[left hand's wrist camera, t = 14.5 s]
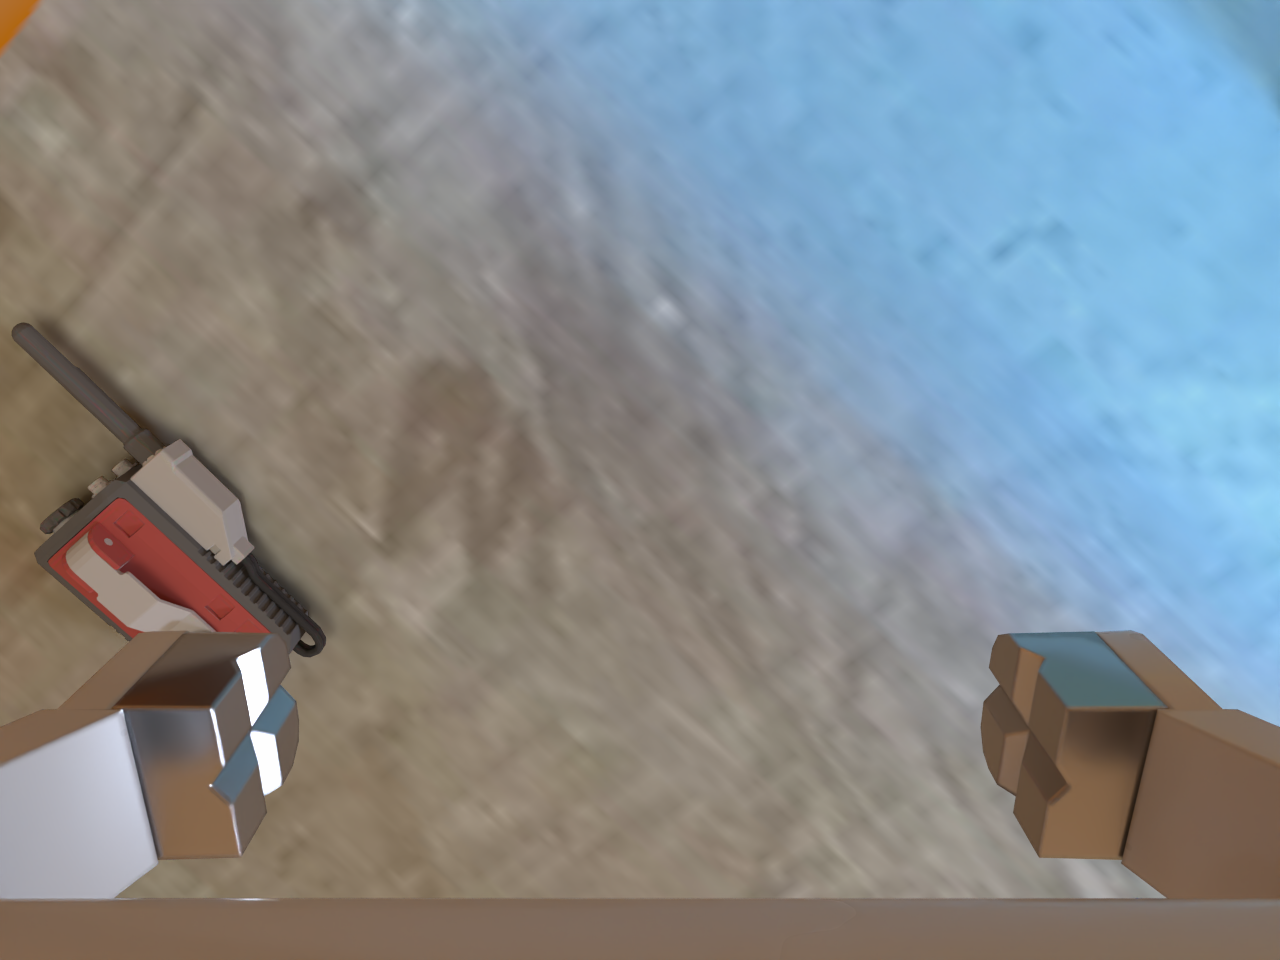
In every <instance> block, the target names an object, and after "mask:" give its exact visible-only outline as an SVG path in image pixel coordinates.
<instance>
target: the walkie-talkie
mask: <svg viewBox="0 0 1280 960" xmlns="http://www.w3.org/2000/svg"><path fill="white" fill-rule="evenodd" d="M12 337H13V339H14V341H15V342H16V343H18V344H19V345H20V346H21V347H22V348H23V349H24V350H25V351H26V352H27V353H28V354H29V355H30V356H31V357H32V358H33V359H34V360H36V361H37V362H38V363H39V364H40V365H41V366H42V367H43V368H44V369H45V370H46V371H47V372H48V373H49V374H50V375H51V376H52V377H54V378H55V379H56V380H57V381H58V382H59V383H60V384H61V385H62V386H63V387H64V388H65V389H66V390H67V391H68V392H69V393H70V394H72V395H73V396H74V397H75V398H76V399H77V400H78V401H79V402H80V403H81V404H82V405H83V406H84V407H85V408H86V409H87V410H88V411H89V412H91V413H92V414H93V415H94V416H95V417H96V418H97V419H98V420H99V421H100V422H101V423H102V424H103V425H104V426H105V427H106V428H107V429H109V430H110V431H111V432H112V433H113V434H114V435H115V436H116V437H117V438H118V439H119V440H120V441H121V442H122V443H123V444H124V449H125V450H126V451H128V452H129V453H130V454H131V455H132V456H133V457H134V458H135V459H136V460H137V461H138V462H139V463H140V464H139V465H137V464H136V463H134V464H131V463H130V462H129V461H128V460H127V459H124V460H123V461H121V462H120V463H119V464H117V465H116V466H115V467H114V468H113V469H112V471H113V472H114V473H115V474H116V475H117V478H116V479H115V480H111V481H110V482H109V481H107V480H106V479H105V478H104V477H103V476H101V477H100V478H98V479H97V480H95V481H94V482H93V483H92V484H91V485H89V486H88V489H89V490H90V491H91V492H92V493H93V495H92V498H93V499H92V500H90V501H89V502H88V503H87V504H86V505H85V506H84V503H83V502H82V501H81V500H80V499H79V498H74V499H72V500H70V501H68V502H67V503H65V504H64V505H62V506H61V507H60V508H59V509H57V510H56V511H55V512H53V513H52V514H51V515H50V516H48V517H47V518H46V519H45V520H44V521H43V522H42V523H41V525H40V530H42V531H43V532H44V533H45V534H50V533H53V532H54V534H53V535H52V536H51V537H50V538H49V539H48V540H47V541H46V542H45V543H43V544H42V545H41V546H40V547H39V548H38V549H37V550H36V552H35V553H34V554H35V557H36V560H37V563H38V564H39V565H41V566H42V567H43V568H44V569H45V570H46V571H47V572H49V573H50V574H51V575H52V576H53V577H54V578H56V579H57V580H58V581H59V582H60V583H61V584H62V585H64V586H65V587H66V588H67V589H68V590H69V591H70V592H72V593H73V594H74V595H75V596H76V597H77V598H79V599H80V600H81V601H82V602H83V603H84V604H85V605H87V606H88V607H89V608H90V609H91V610H92V611H94V612H95V613H96V614H97V615H98V616H99V617H100V618H102V619H103V620H104V621H105V622H106V623H107V624H109V625H110V626H112V627H114V628H115V629H116V631H117V632H118V633H121V634H122V635H123V636H124V637H125V639H126V640H127V641H131V640H132V639H133V638H134V637H135V636H136V635H137V634H138V633H143V632H152V631H189V632H247V633H279V635H280V636H281V637H282V638H283V639H284V640H285V641H286V644H287V649H288V655H289V654H290V653H291V651H292V650H294V651H295V652H296V653H297V654H299V655H301V656H303V657H312V656H315V655H317V654H319V653H320V652H321V651H322V649H323V648H324V646H325V644H326V637H325V635H324V633H323V631H322V630H321V628H320V627H319V626H318V625H317V624H316V623H315V622H314V621H313V620H312V619H311V618H310V617H309V616H308V611H307V610H305V609H304V608H303V607H302V606H301V604H300V603H297V602H296V601H295V600H294V599H293V597H292V596H290V595H289V594H288V593H287V592H286V590H285V589H284V588H282V587H280V586H279V585H278V583H277V582H276V581H274V580H273V579H272V578H271V577H270V575H269V574H268V573H266V572H265V571H264V570H262V568H261V567H260V566H258V563H257V560H256V559H255V558H254V556H253V555H252V554H251V553H250V552H251V551H252V550H253V549H254V548H255V547H254V546H253V545H252V544H251V543H250V542H249V541H248V538H247V533H246V528H245V523H244V518H243V513H242V509H241V504H240V501H239V499H238V498H237V497H236V496H235V495H234V494H233V493H232V492H231V491H229V490H228V489H227V488H226V487H225V486H224V485H223V484H222V483H221V482H220V481H219V480H218V479H217V478H216V477H215V476H214V475H213V474H212V473H211V472H210V471H209V470H208V469H207V468H206V467H205V466H204V465H203V464H202V463H201V462H200V461H199V460H197V459H196V458H195V457H194V456H193V454H192V450H191V449H190V448H189V447H188V446H187V445H186V444H185V443H184V442H183V441H182V440H181V439H179V440H177V441H176V442H174V443H172V444H171V445H169V446H167V447H166V446H164V445H163V444H162V443H161V442H160V441H159V440H158V439H157V438H156V437H155V436H154V435H153V434H152V433H151V432H150V431H149V430H148V429H141V428H140V427H139V426H138V425H137V424H136V423H135V422H134V421H133V420H132V419H131V418H130V417H129V416H128V415H127V414H126V413H125V412H124V411H123V410H122V409H121V408H120V407H119V406H118V405H117V404H116V403H115V402H114V401H112V400H111V399H110V398H109V397H108V396H107V395H106V394H105V393H104V392H103V391H102V390H101V389H100V388H99V387H98V386H97V385H96V384H95V383H94V382H93V381H92V380H91V379H90V378H89V377H88V376H87V375H86V374H85V373H83V372H82V371H81V370H80V369H79V368H77V367H75V366H74V365H73V364H72V363H71V362H70V361H68V360H67V359H66V358H65V357H64V356H63V355H62V354H61V353H60V352H59V351H58V350H57V349H56V348H55V347H54V346H53V345H52V344H50V343H49V342H48V341H47V340H46V339H45V338H44V337H43V336H42V335H41V334H40V333H39V332H38V331H37V330H36V329H35V328H34V327H32V326H31V325H30V324H27V323H20V324H17V325H16V326H15V327H14V328H13V330H12ZM136 465H137V466H136ZM83 506H84V507H83ZM305 632H307V633H308V634H309V635H311V637H312V638H313V640H314V641H315V645H313V646H310V645H307V644H305V643H304V642H303V641H301V640H300V639H301V637H302V636H303V634H304V633H305Z"/></svg>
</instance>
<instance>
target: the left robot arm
mask: <svg viewBox="0 0 1280 960" xmlns="http://www.w3.org/2000/svg"><path fill="white" fill-rule="evenodd" d="M290 669H291V665H290V660H289V655H288V649H287V644H286V641H285V640H284V639H283V638H282V637H281V636H280V635H279V633H247V632H189V631H152V632H143V633H138V634H137V635H136V636H135V637H134V638H133V639H132V640H131V641H130V642H129V643H128V644H126V645H125V646H124V647H123V648H122V649H121V650H120V651H119V652H118V653H117V654H116V655H115V656H114V657H113V658H112V659H110V660H109V661H108V662H107V663H106V664H105V665H104V666H103V667H102V668H101V669H100V670H99V671H98V672H97V673H96V674H94V675H93V676H92V677H91V678H90V679H89V680H88V681H87V682H86V683H85V684H84V685H83V686H82V687H81V688H80V689H78V690H77V691H76V692H75V693H74V694H73V695H72V696H71V697H70V698H69V699H68V700H67V701H66V702H65V703H63V704H62V705H61V706H60V707H59V708H58V709H42V710H40V711H38V712H35V713H33V714H30V715H28V716H26V717H23V718H21V719H18V720H16V721H14V722H11V723H9V724H6V725H4V726H2V727H0V960H1280V727H1278V726H1276V725H1274V724H1271V723H1269V722H1266V721H1264V720H1262V719H1259V718H1257V717H1254V716H1252V715H1250V714H1247V713H1245V712H1242V711H1240V710H1238V709H1222V708H1221V707H1220V706H1219V705H1218V704H1217V703H1216V702H1214V701H1213V700H1212V699H1211V698H1210V697H1209V696H1208V695H1207V694H1206V693H1205V692H1204V691H1203V690H1202V689H1201V688H1200V687H1198V686H1197V685H1196V684H1195V683H1194V682H1193V681H1192V680H1191V679H1190V678H1189V677H1188V676H1187V675H1186V674H1185V673H1184V672H1183V671H1181V670H1180V669H1179V668H1178V667H1177V666H1176V665H1175V664H1174V663H1173V662H1172V661H1171V660H1170V659H1169V658H1168V657H1167V656H1165V655H1164V654H1163V653H1162V652H1161V651H1160V650H1159V649H1158V648H1157V647H1156V646H1155V645H1154V644H1153V643H1152V642H1151V641H1150V640H1148V639H1147V638H1146V637H1145V636H1144V635H1143V634H1141V633H1138V632H1134V631H1131V630H1128V631H1104V632H1053V633H1012V634H1002V635H998V637H997V639H996V641H995V643H994V645H993V648H992V653H991V659H990V664H989V669H990V670H991V672H992V673H993V675H994V676H995V678H996V679H997V681H998V682H999V684H1000V685H999V686H998V687H997V688H996V689H995V690H994V691H993V692H992V693H991V694H990V695H989V696H988V698H987V699H986V700H985V701H984V703H983V712H982V720H981V736H982V746H983V753H984V756H985V759H986V762H987V765H988V768H989V770H990V772H991V774H992V776H993V778H994V780H995V781H996V783H997V785H999V786H1000V787H1002V788H1004V789H1005V790H1007V791H1008V792H1010V793H1011V794H1013V795H1015V796H1016V798H1015V804H1014V810H1013V813H1014V815H1015V817H1016V818H1017V820H1018V822H1019V824H1020V825H1021V827H1022V829H1023V831H1024V832H1025V834H1026V836H1027V837H1028V839H1029V841H1030V843H1031V844H1032V846H1033V848H1034V850H1035V851H1036V853H1037V855H1038V856H1039V858H1076V859H1112V860H1122V862H1121V863H1122V864H1123V865H1124V866H1125V867H1127V868H1128V869H1129V870H1131V871H1132V872H1133V873H1135V874H1136V875H1137V876H1139V877H1140V878H1141V879H1143V880H1144V881H1145V882H1147V883H1148V884H1149V885H1151V886H1152V887H1153V888H1154V889H1156V890H1157V891H1158V892H1160V893H1161V894H1162V895H1164V896H1165V897H1166V898H778V899H777V898H765V899H764V898H758V899H757V898H751V899H749V898H744V899H742V898H738V899H736V898H731V899H729V898H724V899H722V898H717V899H714V898H711V899H707V898H704V899H700V898H697V899H694V898H691V899H686V898H684V899H679V898H677V899H672V898H670V899H665V898H664V899H659V898H657V899H651V898H650V899H644V898H643V899H510V898H509V899H508V898H114V897H115V896H117V895H118V894H119V893H121V892H122V891H123V890H125V889H126V888H127V887H128V886H130V885H131V884H132V883H134V882H135V881H136V880H138V879H139V878H140V877H142V876H143V875H144V874H146V873H147V872H148V871H150V870H151V869H152V868H154V867H155V866H156V865H158V860H167V859H203V858H238V857H242V855H243V853H244V851H245V850H246V848H247V846H248V844H249V843H250V841H251V839H252V838H253V836H254V834H255V832H256V831H257V829H258V827H259V825H260V824H261V822H262V820H263V818H264V817H265V815H266V813H267V810H266V804H265V798H264V796H265V795H267V794H269V793H270V792H272V791H273V790H275V789H276V788H278V787H280V786H281V785H283V783H284V781H285V780H286V778H287V776H288V774H289V772H290V770H291V768H292V766H293V763H294V758H295V754H296V750H297V746H298V742H299V717H298V710H297V703H296V701H295V700H294V699H293V698H292V696H291V695H290V694H289V693H288V692H287V691H286V690H285V689H284V688H283V687H282V686H281V685H280V684H281V682H282V681H283V679H284V678H285V676H286V675H287V673H288V672H289V670H290Z"/></svg>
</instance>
